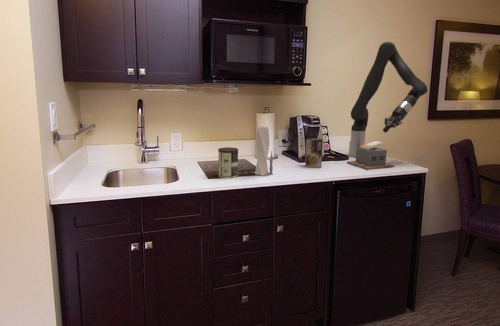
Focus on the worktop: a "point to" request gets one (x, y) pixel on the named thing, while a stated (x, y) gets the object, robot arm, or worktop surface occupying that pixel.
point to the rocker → (371, 145)
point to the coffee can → (228, 162)
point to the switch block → (371, 156)
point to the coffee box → (313, 152)
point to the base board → (369, 166)
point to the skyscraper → (262, 150)
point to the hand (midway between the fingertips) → (384, 131)
